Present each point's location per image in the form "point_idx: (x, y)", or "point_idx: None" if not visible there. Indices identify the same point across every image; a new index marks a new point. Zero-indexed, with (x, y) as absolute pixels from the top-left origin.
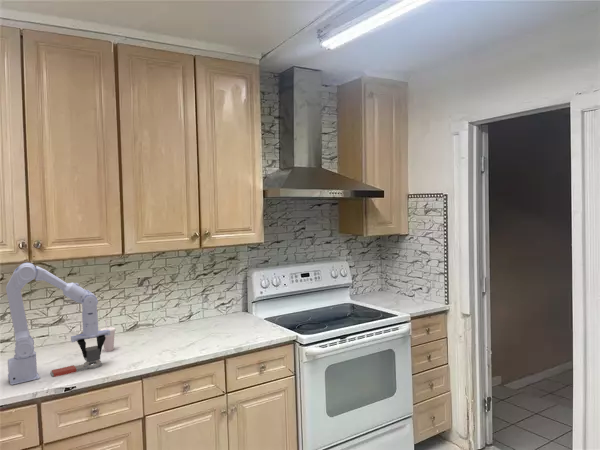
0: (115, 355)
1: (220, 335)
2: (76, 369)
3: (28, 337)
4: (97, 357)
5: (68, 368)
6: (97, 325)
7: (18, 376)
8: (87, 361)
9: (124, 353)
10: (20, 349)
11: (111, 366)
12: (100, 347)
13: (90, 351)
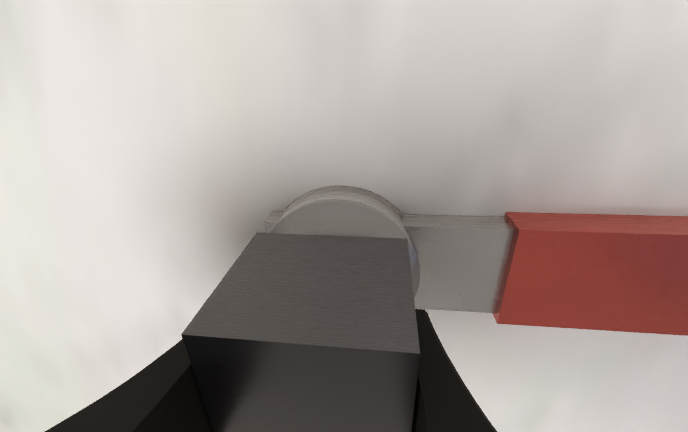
0: (159, 353)
1: None
2: (510, 227)
3: None
4: (278, 250)
5: (578, 277)
6: None
7: None
8: (403, 244)
9: (100, 349)
10: None
11: (190, 131)
12: (170, 369)
13: (350, 331)
